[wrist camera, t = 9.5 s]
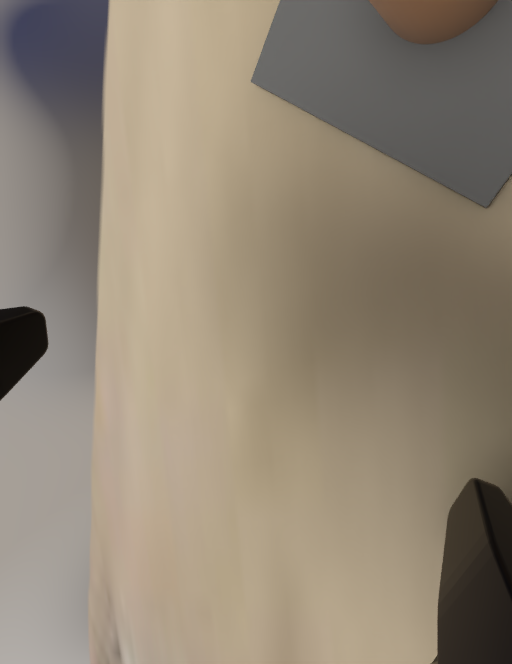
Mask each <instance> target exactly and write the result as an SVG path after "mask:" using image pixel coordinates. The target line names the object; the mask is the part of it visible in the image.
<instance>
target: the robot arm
mask: <svg viewBox="0 0 512 664" xmlns="http://www.w3.org/2000/svg"><path fill="white" fill-rule="evenodd" d="M47 348H48V336H47V328H46V320H45V317H44V315H43V313H41V312H40V311H37V310H35V309H32V308H30V307H24V306H23V307H16V308H7V309H0V400H1V399H2V398H3V397H4V396H5V395H6V394H7V393H8V392H9V391H10V390H11V389H12V388H13V387H14V386H15V385H16V384H17V383H18V381H19V380H20V379H21V378H22V377H23V376H24V375H25V374H26V373H27V372H28V371H29V370H30V369H31V368H32V367H33V366H34V365H35V363H36V362H37V361H38V360H39V359H40V358H41V357H42V356H43V355H44V354H45V352H46V350H47ZM431 664H512V505H511V503H510V502H509V500H508V499H507V498H506V496H505V495H504V493H503V492H502V491H501V489H500V488H499V487H497V486H496V485H493V484H491V483H488V482H485V481H483V480H480V479H478V478H472V479H471V480H469V481H468V482H467V484H466V485H465V487H464V488H463V490H462V491H461V493H460V495H459V496H458V498H457V499H456V501H455V502H454V504H453V505H452V507H451V509H450V512H449V515H448V521H447V529H446V538H445V546H444V555H443V563H442V572H441V581H440V589H439V599H438V655H437V657H436V658H435V659H434V661H433V662H432V663H431Z"/></svg>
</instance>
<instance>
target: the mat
mask: <svg viewBox="0 0 512 664" xmlns="http://www.w3.org/2000/svg"><path fill="white" fill-rule="evenodd" d="M251 82H252V83H254V84H256V85H258V86H260V87H262V88H263V89H265V90H267V91H269V92H271V93H273V94H275V95H277V96H278V97H280V98H282V99H284V100H286V101H288V102H290V103H291V104H293V105H295V106H297V107H299V108H301V109H303V110H304V111H306V112H308V113H310V114H312V115H314V116H316V117H318V118H319V119H321V120H323V121H325V122H327V123H329V124H331V125H332V126H334V127H336V128H338V129H340V130H342V131H344V132H345V133H347V134H349V135H351V136H353V137H355V138H357V139H359V140H360V141H362V142H364V143H366V144H368V145H370V146H372V147H373V148H375V149H377V150H379V151H381V152H383V153H385V154H387V155H388V156H390V157H392V158H394V159H396V160H398V161H400V162H401V163H403V164H405V165H407V166H409V167H411V168H413V169H414V170H416V171H418V172H420V173H422V174H424V175H426V176H428V177H429V178H431V179H433V180H435V181H437V182H439V183H441V184H442V185H444V186H446V187H448V188H450V189H452V190H454V191H455V192H457V193H459V194H461V195H463V196H465V197H467V198H469V199H470V200H472V201H474V202H476V203H478V204H480V205H482V206H483V207H485V208H487V207H488V206H489V204H490V203H491V202H492V200H493V199H494V198H495V196H496V195H497V194H498V192H499V191H500V189H501V188H502V187H503V185H504V184H505V183H506V181H507V180H508V179H509V177H510V176H511V174H512V0H498V1H497V2H496V4H495V5H494V6H493V7H492V8H491V10H490V11H489V12H488V13H487V14H486V15H485V16H484V17H483V18H482V19H481V20H480V21H479V22H477V23H476V24H475V25H474V26H472V27H471V28H470V29H468V30H467V31H465V32H463V33H462V34H460V35H458V36H456V37H454V38H452V39H449V40H446V41H443V42H439V43H435V44H416V43H412V42H409V41H407V40H404V39H402V38H401V37H400V36H398V35H397V34H396V33H395V32H394V31H393V30H392V29H391V28H390V27H389V26H388V24H387V23H386V22H385V21H384V19H383V18H382V17H381V16H380V14H379V13H378V12H377V10H376V9H375V8H374V7H373V5H372V4H371V3H370V2H369V0H280V3H279V5H278V8H277V11H276V14H275V16H274V19H273V22H272V24H271V27H270V30H269V33H268V35H267V38H266V41H265V44H264V46H263V49H262V52H261V55H260V57H259V60H258V63H257V66H256V68H255V71H254V74H253V77H252V79H251Z"/></svg>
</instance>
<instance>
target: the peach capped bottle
mask: <svg viewBox="0 0 512 664" xmlns="http://www.w3.org/2000/svg"><path fill="white" fill-rule="evenodd" d="M497 1H498V0H369V2H370V3H371V4H372V5H373V7H374V8H375V9H376V10H377V12H378V13H379V14H380V16H381V17H382V18H383V19H384V21H385V22H386V23H387V24H388V26H389V27H390V28H391V29H392V30H393V31H394V32H395V33H396V34H397V35H398V36H400V37H401V38H402V39H404V40H407V41H409V42H412V43H416V44H435V43H439V42H443V41H446V40H449V39H452V38H454V37H456V36H458V35H460V34H462V33H463V32H465V31H467V30H468V29H470V28H471V27H472V26H474V25H475V24H476V23H477V22H479V21H480V20H481V19H482V18H483V17H484V16H485V15H486V14H487V13H488V12H489V11H490V10H491V8H492V7H493V6H494V5H495V4H496V2H497Z"/></svg>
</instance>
